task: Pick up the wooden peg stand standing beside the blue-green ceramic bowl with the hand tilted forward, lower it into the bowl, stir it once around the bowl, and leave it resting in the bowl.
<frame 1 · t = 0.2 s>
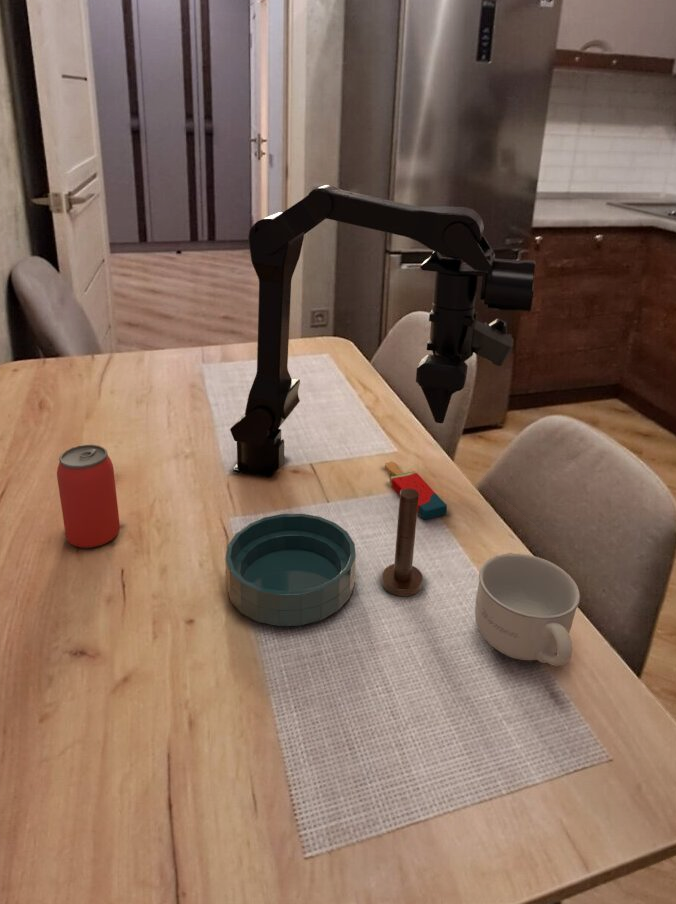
hand: (443, 409, 96), 15 cm above the table, tool pointing down, fingers open, 9 cm apart
beer can: (93, 536, 88), on the table
popsicle: (410, 491, 102), on the table
wooden peg stand: (401, 582, 83), on the table
teacup: (523, 650, 74), on the table
bowl: (291, 584, 81), on the table
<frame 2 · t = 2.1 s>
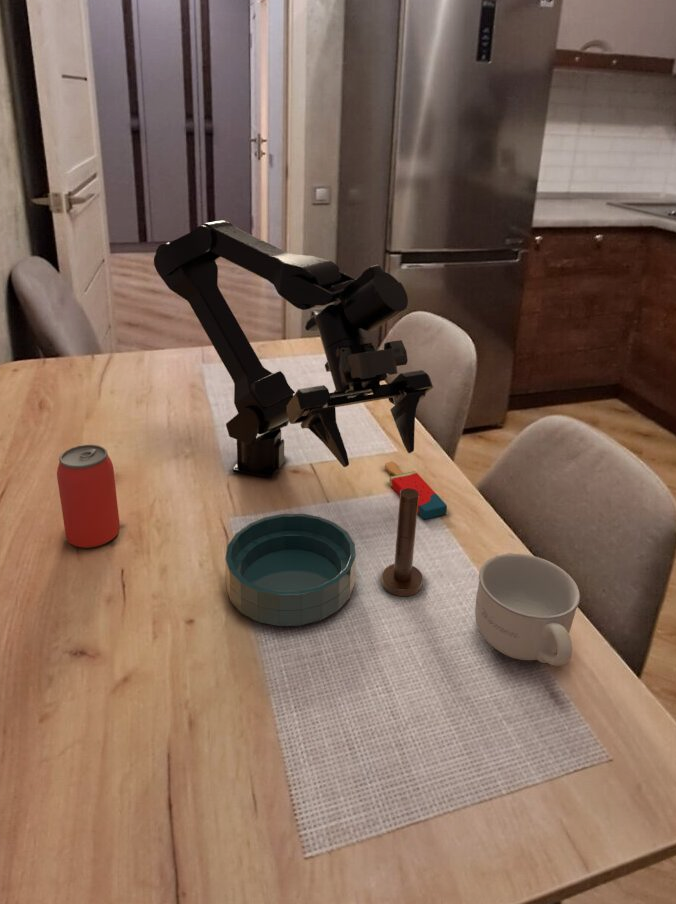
hand: (379, 459, 84), 13 cm above the table, tool tilted 45°, fingers open, 9 cm apart
nothing on the table moved.
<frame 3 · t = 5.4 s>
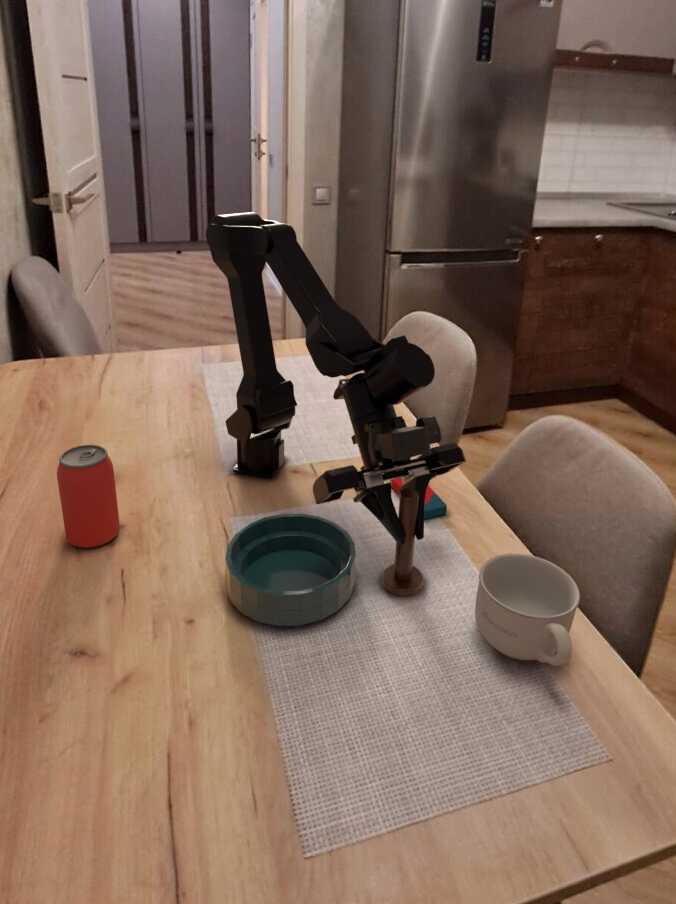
hand: (411, 541, 79), 7 cm above the table, tool tilted 45°, fingers closed on wooden peg stand, 2 cm apart
wooden peg stand: (401, 582, 83), on the table, touching gripper
everything else where it was.
when the fingers open (8 cm above the table, at t = 13.7 s): wooden peg stand stays where it is, resting on bowl.
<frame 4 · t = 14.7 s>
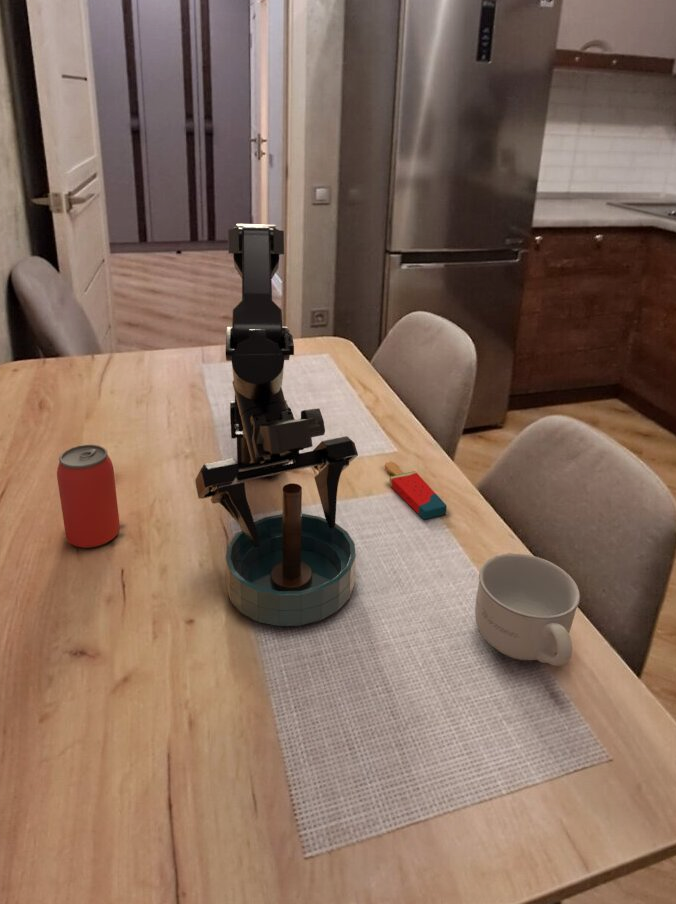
hand: (296, 537, 77), 8 cm above the table, tool tilted 45°, fingers open, 9 cm apart
wooden peg stand: (291, 579, 81), point 1 cm above the table, touching bowl
everything else where it was.
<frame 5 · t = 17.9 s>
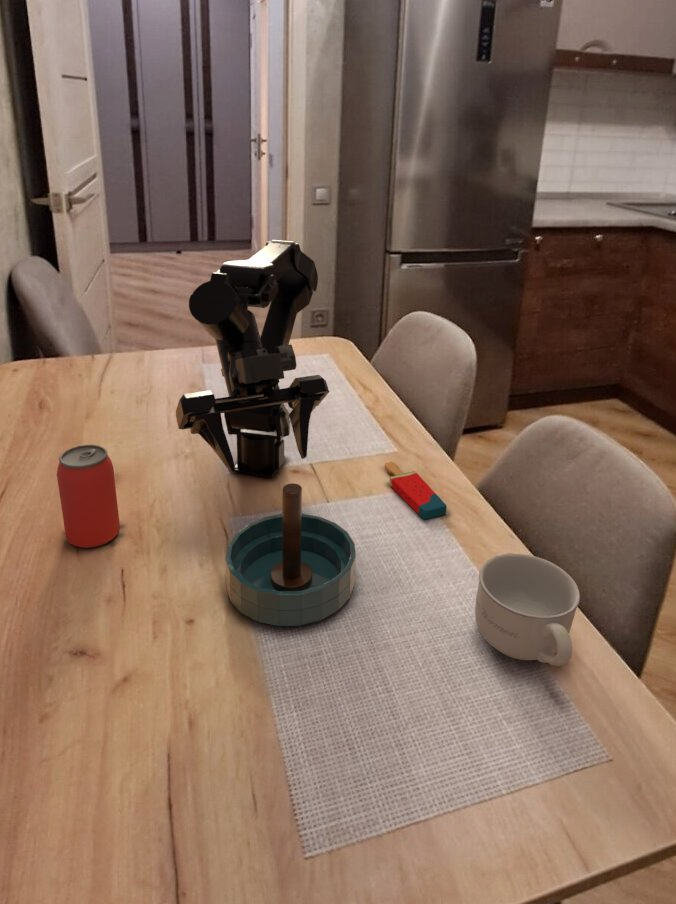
hand: (269, 464, 83), 13 cm above the table, tool tilted 45°, fingers open, 9 cm apart
nothing on the table moved.
at the end: wooden peg stand inside the target area in the bowl (0.1 cm from its centre), point 0.6 cm above the bowl's base; wooden peg stand moved 13.6 cm from its start; the gripper is holding nothing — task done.
